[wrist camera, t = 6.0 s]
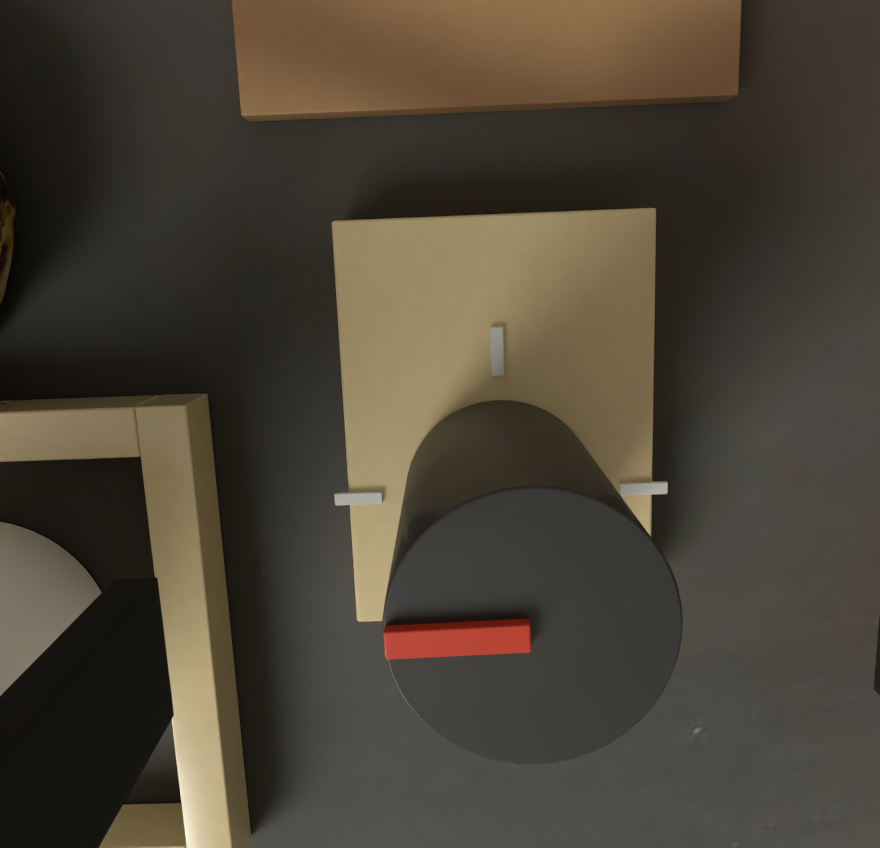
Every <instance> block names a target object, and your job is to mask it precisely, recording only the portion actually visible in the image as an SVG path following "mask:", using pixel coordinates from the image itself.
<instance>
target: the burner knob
mask: <svg viewBox="0 0 880 848" xmlns="http://www.w3.org/2000/svg"><path fill="white" fill-rule="evenodd" d="M682 624H683V620H682V606H681V600H680V595H679V591H678V586H677V583H676V581H675V578H674V575H673V572H672V570H671V568H670V566H669V564H668V562H667V560H666V558H665V556H664V555H663V553H662V551H661V550H660V549H659V547H658V546H657V544H656V543H655V542H654V540H653V539H652V538H651V536H650V535H649V534H648V532H647V531H646V529H645V528H644V527H643V525H642V524H641V523H640V521H639V520H638V519H637V517H636V516H635V515H634V513H633V512H632V510H631V509H630V508H629V506H628V505H627V504H626V502H625V501H624V500H623V498H622V497H621V495H620V494H619V493H618V491H617V490H616V489H615V487H614V486H613V485H612V483H611V482H610V480H609V479H608V478H607V476H606V475H605V474H604V472H603V471H602V470H601V468H600V467H599V465H598V464H597V463H596V461H595V460H594V459H593V457H592V456H591V455H590V453H589V452H588V451H587V449H586V448H585V446H584V445H583V444H582V442H581V441H580V440H579V438H578V437H577V436H576V434H575V433H574V432H573V431H572V430H571V429H570V428H569V427H568V426H567V425H566V424H565V423H564V422H563V421H561V420H560V419H559V418H557V417H556V416H554V415H553V414H551V413H549V412H548V411H546V410H544V409H541V408H539V407H537V406H534V405H531V404H527V403H524V402H518V401H511V400H494V401H485V402H481V403H477V404H473V405H470V406H467V407H465V408H462V409H460V410H458V411H456V412H454V413H452V414H451V415H449V416H447V417H446V418H445V419H443V420H442V421H441V422H439V423H438V424H437V425H436V426H435V427H434V428H433V429H432V430H431V431H430V432H429V433H428V434H427V436H426V437H425V438H424V439H423V441H422V442H421V444H420V445H419V447H418V449H417V450H416V452H415V454H414V457H413V459H412V461H411V464H410V468H409V471H408V475H407V480H406V486H405V492H404V497H403V503H402V508H401V514H400V519H399V525H398V531H397V536H396V542H395V547H394V553H393V558H392V564H391V570H390V575H389V581H388V586H387V592H386V597H385V604H384V611H383V619H382V632H383V644H384V651H385V658H386V660H387V663H388V666H389V670H390V673H391V675H392V677H393V680H394V682H395V684H396V686H397V688H398V690H399V692H400V693H401V695H402V696H403V698H404V700H405V701H406V703H407V704H408V706H409V707H410V708H411V709H412V710H413V712H414V713H415V714H416V715H417V716H418V718H419V719H420V720H421V721H423V722H424V723H425V724H426V725H427V726H428V727H429V728H430V729H431V730H432V731H433V732H435V733H436V734H438V735H439V736H441V737H442V738H443V739H445V740H446V741H448V742H449V743H451V744H453V745H455V746H457V747H459V748H461V749H462V750H464V751H467V752H470V753H472V754H475V755H477V756H480V757H483V758H487V759H491V760H495V761H499V762H506V763H513V764H546V763H555V762H560V761H565V760H569V759H573V758H577V757H579V756H582V755H585V754H588V753H591V752H593V751H595V750H597V749H599V748H601V747H603V746H605V745H607V744H609V743H611V742H612V741H614V740H616V739H617V738H619V737H620V736H622V735H623V734H625V733H626V732H627V731H628V730H630V729H631V728H632V727H633V726H634V725H635V724H637V723H638V722H639V721H640V720H641V719H642V718H643V717H644V716H645V714H646V713H647V712H648V711H649V710H650V709H651V708H652V707H653V705H654V704H655V702H656V701H657V700H658V698H659V697H660V695H661V694H662V692H663V691H664V689H665V687H666V685H667V683H668V681H669V679H670V677H671V675H672V672H673V669H674V667H675V664H676V661H677V658H678V654H679V649H680V644H681V638H682Z"/></svg>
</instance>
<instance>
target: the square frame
mask: <svg viewBox="0 0 880 848" xmlns="http://www.w3.org/2000/svg"><path fill="white" fill-rule="evenodd" d="M139 456H141V463H142V472H143V480H144V489H145V497H146V506H147V514H148V523H149V531H150V540H151V549H152V557H153V566H154V574H155V578H156V577H157V578H158V586H159V594H160V603H161V611H162V619H163V628H164V636H165V644H166V653H167V661H168V669H169V678H170V686H171V694H172V702H173V711H174V716H173V718H172V728H173V736H174V745H175V753H176V762H177V770H178V779H179V787H180V796H181V803H156V804H123V806H122V807H121V809H120V811H119V813H118V814H117V816H116V818H115V820H114V821H113V823H112V825H111V827H110V828H109V830H108V832H107V834H106V835H105V837H104V839H103V841H102V843H101V844H100V846H99V848H248V845H249V842H250V839H251V831H250V820H249V810H248V800H247V790H246V780H245V770H244V760H243V749H242V739H241V729H240V719H239V709H238V699H237V688H236V678H235V668H234V658H233V648H232V638H231V627H230V617H229V607H228V597H227V587H226V577H225V567H224V556H223V546H222V536H221V526H220V516H219V506H218V495H217V485H216V475H215V465H214V455H213V445H212V434H211V424H210V414H209V404H208V395H207V393H196V394H169V395H160V396H158V395H145V396H118V397H91V398H64V399H37V400H10V401H0V462H15V461H43V460H71V459H99V458H126V457H139Z"/></svg>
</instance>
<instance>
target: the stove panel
mask: <svg viewBox="0 0 880 848" xmlns="http://www.w3.org/2000/svg"><path fill="white" fill-rule="evenodd" d="M332 236H333V252H334V267H335V283H336V299H337V314H338V330H339V346H340V361H341V377H342V392H343V408H344V424H345V439H346V455H347V470H348V486H349V492H338V493H335V494H334V495H335V505H350V517H351V533H352V548H353V564H354V580H355V595H356V611H357V620H358V621H359V622H363V621H382V619H383V611H384V604H385V597H386V592H387V586H388V581H389V575H390V570H391V564H392V558H393V553H394V547H395V542H396V536H397V531H398V525H399V519H400V514H401V508H402V503H403V497H404V492H405V486H406V480H407V475H408V471H409V468H410V464H411V461H412V459H413V457H414V454H415V452H416V450H417V449H418V447H419V445H420V444H421V442H422V441H423V439H424V438H425V437H426V436H427V434H428V433H429V432H430V431H431V430H432V429H433V428H434V427H435V426H436V425H437V424H438V423H439V422H441V421H442V420H443V419H445V418H446V417H447V416H449V415H451V414H452V413H454V412H456V411H458V410H460V409H462V408H465V407H467V406H470V405H473V404H477V403H481V402H485V401H494V400H511V401H518V402H524V403H527V404H531V405H534V406H537V407H539V408H541V409H544V410H546V411H548V412H549V413H551V414H553V415H554V416H556V417H557V418H559V419H560V420H561V421H563V422H564V423H565V424H566V425H567V426H568V427H569V428H570V429H571V430H572V431H573V432H574V433H575V434H576V436H577V437H578V438H579V440H580V441H581V442H582V444H583V445H584V446H585V448H586V449H587V451H588V452H589V453H590V455H591V456H592V457H593V459H594V460H595V461H596V463H597V464H598V465H599V467H600V468H601V470H602V471H603V472H604V474H605V475H606V476H607V478H608V479H609V480H610V482H611V483H612V485H613V486H614V487H615V489H616V490H617V491H618V493H619V494H620V495H621V497H622V498H623V500H624V501H625V502H626V504H627V505H628V506H629V508H630V509H631V510H632V512H633V513H634V515H635V516H636V517H637V519H638V520H639V521H640V523H641V524H642V525H643V527H644V528H645V529H646V531H647V532H648V534H649V535H650V536H651V519H652V494H667V493H668V482H667V481H652V453H653V387H654V320H655V254H656V209H655V208H634V209H609V210H584V211H559V212H535V213H510V214H485V215H460V216H435V217H411V218H386V219H361V220H336V221H333V222H332Z"/></svg>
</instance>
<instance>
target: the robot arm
mask: <svg viewBox="0 0 880 848" xmlns="http://www.w3.org/2000/svg"><path fill="white" fill-rule="evenodd" d="M874 690H875V691H876V692H877V693H878V694H879V695H880V618H879V630H878V642H877V655H876V667H875V679H874ZM173 716H174V711H173V702H172V694H171V686H170V678H169V669H168V661H167V653H166V644H165V636H164V628H163V619H162V611H161V603H160V594H159V586H158V578H157V577H156V578H129V579H115V580H114V581H113V582H112V583H111V584H110V585H109V586H108V587H107V588H106V589H105V590H104V591H103V592H102V593H101V594H100V595H99V596H98V597H97V598H96V599H95V600H94V601H93V602H92V603H91V604H90V605H89V606H88V607H87V608H86V609H85V610H84V611H83V612H82V613H81V614H80V615H79V616H78V617H77V618H76V619H75V620H74V621H73V622H72V623H71V625H70V626H69V627H68V628H67V629H66V630H65V631H64V632H63V633H62V634H61V635H60V636H59V637H58V638H57V639H56V640H55V641H54V642H53V643H52V644H51V645H50V646H49V647H48V648H47V649H46V650H45V651H44V652H43V653H42V654H41V655H40V656H39V657H38V658H37V659H36V660H35V661H34V662H33V663H32V664H31V665H30V666H29V667H28V668H27V669H26V670H25V671H24V672H23V673H22V674H21V675H20V676H19V677H18V678H17V679H16V680H15V681H14V682H13V683H12V685H11V686H10V687H9V688H8V689H7V690H6V691H5V692H4V693H3V694H2V695H1V696H0V848H99V846H100V844H101V843H102V841H103V839H104V837H105V835H106V834H107V832H108V830H109V828H110V827H111V825H112V823H113V821H114V820H115V818H116V816H117V814H118V813H119V811H120V809H121V807H122V806H123V804H124V802H125V800H126V799H127V797H128V795H129V793H130V791H131V790H132V788H133V786H134V784H135V783H136V781H137V779H138V777H139V776H140V774H141V772H142V770H143V769H144V767H145V765H146V763H147V762H148V760H149V758H150V756H151V755H152V753H153V751H154V749H155V747H156V746H157V744H158V742H159V740H160V739H161V737H162V735H163V733H164V732H165V730H166V728H167V726H168V725H169V723H170V721H171V719H172V718H173Z"/></svg>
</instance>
